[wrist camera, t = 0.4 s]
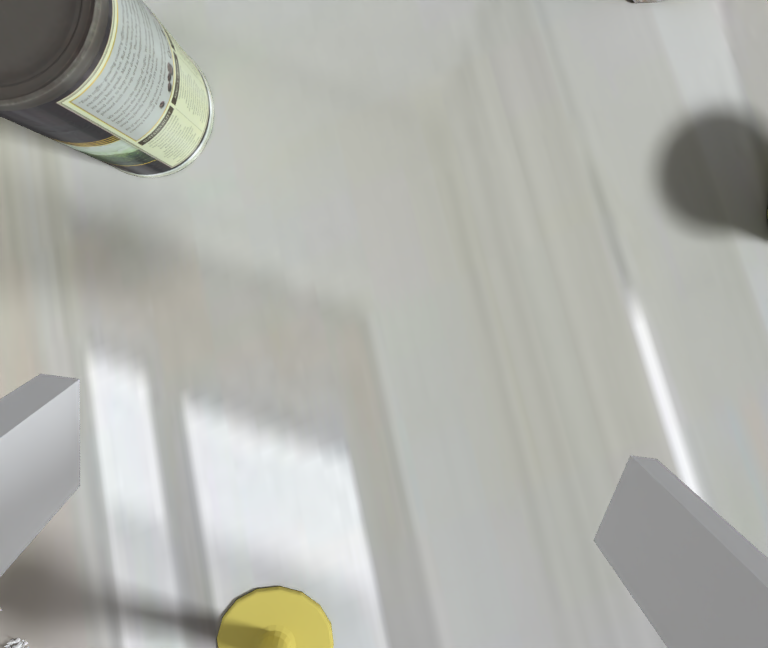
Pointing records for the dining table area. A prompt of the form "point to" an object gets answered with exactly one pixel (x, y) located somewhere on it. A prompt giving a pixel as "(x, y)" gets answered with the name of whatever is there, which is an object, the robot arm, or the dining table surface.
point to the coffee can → (103, 83)
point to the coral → (646, 1)
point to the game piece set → (18, 646)
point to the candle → (275, 621)
